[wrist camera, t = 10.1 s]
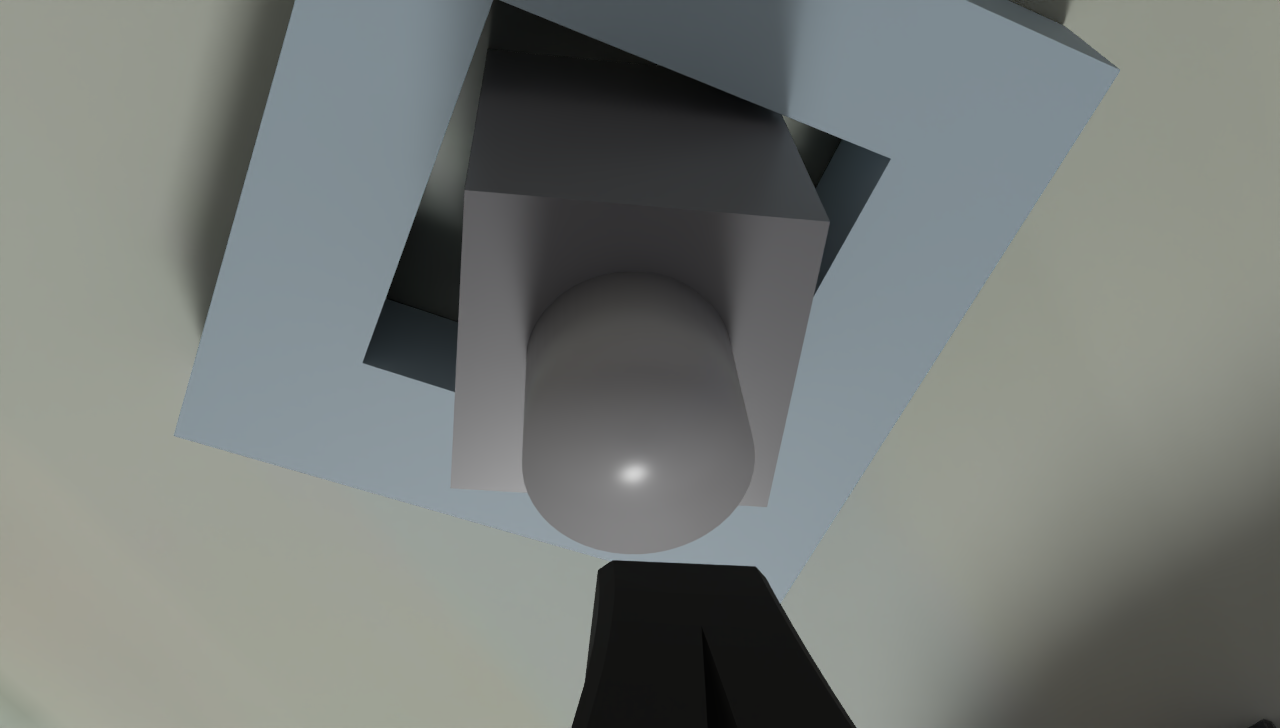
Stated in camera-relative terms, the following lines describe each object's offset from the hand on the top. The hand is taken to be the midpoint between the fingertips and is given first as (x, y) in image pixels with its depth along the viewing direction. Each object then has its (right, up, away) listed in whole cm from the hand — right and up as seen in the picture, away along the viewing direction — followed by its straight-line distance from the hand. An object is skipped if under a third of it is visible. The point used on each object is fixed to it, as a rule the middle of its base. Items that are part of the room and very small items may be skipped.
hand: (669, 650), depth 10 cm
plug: (-1, +5, +8) cm, 9 cm away
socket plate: (-1, +5, +8) cm, 9 cm away
